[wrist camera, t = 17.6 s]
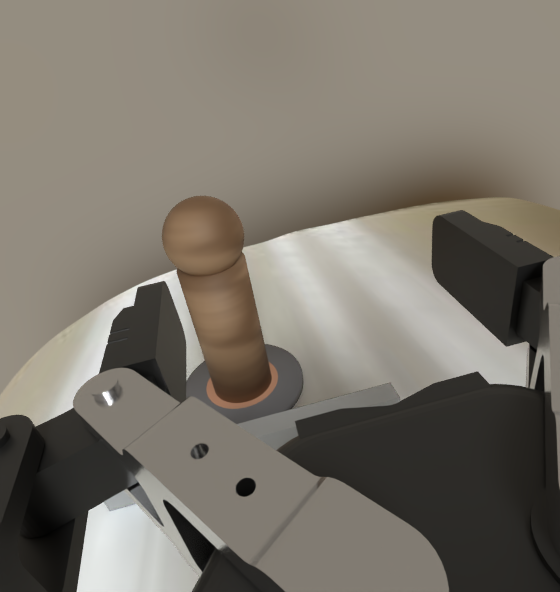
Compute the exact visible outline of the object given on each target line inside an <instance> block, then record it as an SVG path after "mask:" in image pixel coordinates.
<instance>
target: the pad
mask: <svg viewBox="0 0 560 592" xmlns="http://www.w3.org/2000/svg"><path fill="white" fill-rule="evenodd" d="M265 348H266V353H267V357H268V362H269V366H270V371H271V375H272V380H271V384H270V386H269V388H268V389H267V390H266V391H265V392H264V393H263V394H262V395H260V396H259V397H257V398H255V399H253V400H251V401H247V402H243V403H230V402H226V401H223V400H222V399H220V398H219V397H218V396H217V395H216V393H215V390H214V387H213V384H212V381H211V377H210V374H209V371H208V368H207V365H206V362H205V361H204V362H203V363H201V364H200V365H199V366H198V367H197V368H196V369H195V370H194V371H193V372H192V374H191V375H190V376H189V378H188V380H187V382H186V398H187V397H189V396H193V397H195V398H197V399H199V400H200V401H202V402H203V403H205V404H206V405H208V406H209V407H211V408H213V409H214V410H216V411H217V412H219V413H220V414H222V415H223V416H225V417H226V418H228V419H229V420H231V421H232V422H234V423H235V424H239V423H243V422H246V421H250V420H254V419H258V418H261V417H265V416H269V415H272V414H276V413H280V412H283V411H287V410H291V408H292V407H293V406H294V405H295V403H296V402H297V400H298V399H299V397H300V394H301V391H302V388H303V375H302V370H301V367H300V365H299V363H298V361H297V360H296V358H295V357H294V356H293V355H292V354H290V353H289V352H288V351H286V350H284V349H282V348H279V347H276V346H272V345H267V344H265Z"/></svg>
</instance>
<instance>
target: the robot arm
mask: <svg viewBox="0 0 560 592" xmlns="http://www.w3.org/2000/svg"><path fill="white" fill-rule="evenodd" d="M432 270H433V274H434V276H435V278H436V280H437V282H438V283H439V284H440V285H441V286H442V287H443V288H444V289H445V290H446V291H448V292H449V293H450V294H451V295H452V296H453V297H454V298H455V299H456V300H457V301H458V302H459V303H460V304H461V305H462V306H464V307H465V308H466V309H467V310H468V311H469V312H470V313H471V314H472V315H473V316H474V317H475V318H476V319H477V320H478V321H480V322H481V323H482V324H483V325H484V326H485V327H486V328H487V329H488V330H489V331H490V332H491V333H492V334H493V335H494V336H496V337H497V338H498V339H499V340H500V341H501V342H502V343H503V344H504V345H505V346H506V347H507V346H511V345H514V344H518V343H522V342H526V341H527V342H528V343H529V346H528V352H527V367H526V387H522V386H515V385H506V384H489V383H488V382H487V381H486V380H485V379H484V378H483V377H482V376H481V375H480V373H479V372H474V373H470V374H467V375H463V376H459V377H456V378H452V379H448V380H444V381H441V382H437V383H434V384H432V385H430V386H428V387H426V388H424V389H422V390H421V391H419V392H417V393H415V394H413V395H411V396H409V397H408V398H406V399H404V400H402V401H400V402H398V403H396V404H393V405H388V406H373V407H357V408H342V409H337V410H334V411H330V412H326V413H323V414H319V415H315V416H311V417H308V418H304V419H300V420H297V421H295V424H296V429H297V433H298V436H297V437H295V438H293V439H291V440H290V441H288V442H287V443H285V444H284V445H282V446H281V447H280V448H278V449H277V450H275V449H273V448H272V447H270V446H269V445H267V444H266V443H264V442H263V441H261V440H260V439H258V438H257V437H255V436H254V435H252V434H251V433H249V432H247V431H246V430H244V429H243V428H241V427H240V426H238V425H237V424H235V423H234V422H232V421H231V420H229V419H228V418H226V417H225V416H223V415H222V414H220V413H219V412H217V411H216V410H214V409H213V408H211V407H209V406H208V405H206V404H205V403H203V402H202V401H200V400H199V399H197V398H195V397H193V396H189V397H187V398H186V340H185V335H184V331H183V327H182V324H181V321H180V319H179V316H178V313H177V310H176V308H175V305H174V302H173V299H172V297H171V294H170V291H169V288H168V286H167V284H166V282H165V281H162V282H158V283H154V284H150V285H145V286H141V287H138V289H137V293H136V298H135V303H134V306H131V307H127V308H123V310H122V311H121V312H120V313H119V314H118V315H117V317H116V318H115V319H114V320H113V323H112V327H111V331H110V335H109V338H108V344H107V346H106V349H105V353H104V357H103V361H102V364H101V368H100V372H99V374H98V375H96V376H94V377H93V378H91V379H90V380H88V381H87V382H86V383H85V384H84V385H83V386H82V387H81V388H80V389H79V390H78V392H77V393H76V395H75V397H74V400H73V406H74V408H72V409H71V410H69V411H67V412H65V413H63V414H61V415H59V416H57V417H55V418H53V419H51V420H49V421H47V422H45V423H43V424H41V425H38V426H36V427H35V425H34V424H33V423H32V421H31V420H30V419H29V418H28V417H26V416H23V415H11V416H7V417H4V418H1V419H0V592H76V591H77V584H78V578H79V571H80V564H81V557H82V551H83V544H84V537H85V530H86V523H87V517H88V511H89V510H90V509H92V508H94V507H96V506H97V505H99V504H101V503H102V502H104V501H106V500H108V499H109V498H111V497H113V496H115V495H116V494H118V493H120V492H122V491H123V490H124V491H125V492H126V493H127V494H128V496H129V497H130V498H131V499H132V500H133V501H134V502H135V503H136V504H137V505H138V506H139V507H140V508H141V509H142V511H143V512H144V513H145V514H146V515H147V516H148V517H149V518H150V519H151V520H152V521H153V522H154V523H155V524H156V526H157V527H158V528H159V529H160V530H161V531H162V532H163V533H164V534H165V535H166V536H167V537H168V539H169V540H170V541H171V542H172V543H173V545H174V546H175V547H176V549H177V550H178V551H179V553H180V554H181V556H182V557H183V558H184V560H185V561H186V562H187V563H188V565H189V566H190V567H191V568H192V570H193V571H194V572H195V573H196V574H197V575H198V576H199V577H200V578H199V579H198V581H197V583H196V585H195V587H194V589H193V591H192V592H560V256H557V257H553V256H551V255H549V254H547V253H546V252H544V251H542V250H540V249H539V248H537V247H535V246H533V245H532V244H530V243H528V242H526V241H523V239H521V238H519V237H518V236H516V235H513V234H512V233H511V232H509V231H507V230H506V229H504V228H502V227H500V226H497V225H493V224H489V223H486V222H482V221H480V220H479V219H477V218H475V217H474V216H472V215H470V214H469V213H467V212H465V211H463V210H460V211H456V212H451V213H447V214H443V215H439V216H436V217H435V219H434V221H433V230H432Z"/></svg>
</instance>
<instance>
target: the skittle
mask: <svg viewBox="0 0 560 592" xmlns="http://www.w3.org/2000/svg"><path fill="white" fill-rule="evenodd" d="M162 240H163V246H164V249H165V252H166V254H167V256H168V258H169V259H170V261H171V262H172V263H173V264H174V265H175V266H176V267H177V268H178V269H177V275H178V278H179V281H180V284H181V287H182V291H183V294H184V297H185V300H186V303H187V306H188V309H189V312H190V315H191V318H192V322H193V325H194V328H195V331H196V334H197V337H198V340H199V343H200V346H201V350H202V353H203V356H204V359H205V362H206V365H207V368H208V371H209V374H210V377H211V381H212V384H213V387H214V390H215V393H216V395H217V396H218V397H219V398H220V399H222V400H223V401H226V402H230V403H243V402H247V401H251V400H253V399H255V398H257V397H259V396H260V395H262V394H263V393H264V392H265V391H266V390H267V389H268V388H269V386H270V384H271V380H272V375H271V371H270V366H269V362H268V357H267V353H266V348H265V344H264V340H263V335H262V331H261V326H260V322H259V317H258V313H257V308H256V304H255V299H254V295H253V290H252V286H251V282H250V277H249V273H248V268H247V264H246V259H245V255H244V254H243V253H242V249H243V245H244V231H243V227H242V223H241V221H240V219H239V217H238V215H237V214H236V212H235V211H234V210H233V209H232V208H231V207H230V206H229V205H228V204H226V203H225V202H223V201H221V200H219V199H217V198H213V197H209V196H194V197H191V198H188V199H185V200H183V201H181V202H180V203H178V204H177V205H176V206H175V207H174V208H173V209H172V210H171V211H170V212H169V214H168V216H167V217H166V219H165V222H164V225H163V230H162Z"/></svg>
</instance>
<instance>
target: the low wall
mask: <svg viewBox="0 0 560 592" xmlns="http://www.w3.org/2000/svg"><path fill="white" fill-rule="evenodd" d="M398 402H400V397H399V395H398V394H397V392H396V391H395V389H394V387H393V386H392V384H391V383H387V384H383V385H380V386H376V387H372V388H368V389H365V390H361V391H357V392H354V393H350V394H346V395H343V396H339V397H335V398H332V399H328V400H324V401H320V402H317V403H313V404H309V405H306V406H302V407H298V408H295V409H291V410H287V411H283V412H280V413H276V414H272V415H269V416H265V417H261V418H258V419H254V420H250V421H246V422H243V423H239V424H237V425H238V426H240V427H241V428H243V429H244V430H246V431H247V432H249V433H251V434H252V435H254V436H255V437H257V438H258V439H260V440H261V441H263V442H264V443H266V444H267V445H269V446H270V447H272V448H273V449H275V450H277V449H278V448H280V447H281V446H282V445H284V444H285V443H287V442H288V441H290V440H291V439H293V438H295V437H297V436H298V433H297V429H296V424H295V421H297V420H300V419H304V418H308V417H311V416H315V415H319V414H323V413H326V412H330V411H334V410H337V409H342V408H357V407H373V406H388V405H393V404H396V403H398ZM104 503H105V505H106V506H107V508H108V509H109V511H111V510H115V509H118V508H122V507H126V506H129V505H133V504H136V503H135V502H134V501H133V500H132V499H131V498H130V497H129V496H128V494H127V493H126V492H125V491H124V490H123V491H122V492H120V493H118V494H116V495H115V496H113V497H111V498H109V499H108V500H106V501H104Z"/></svg>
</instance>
